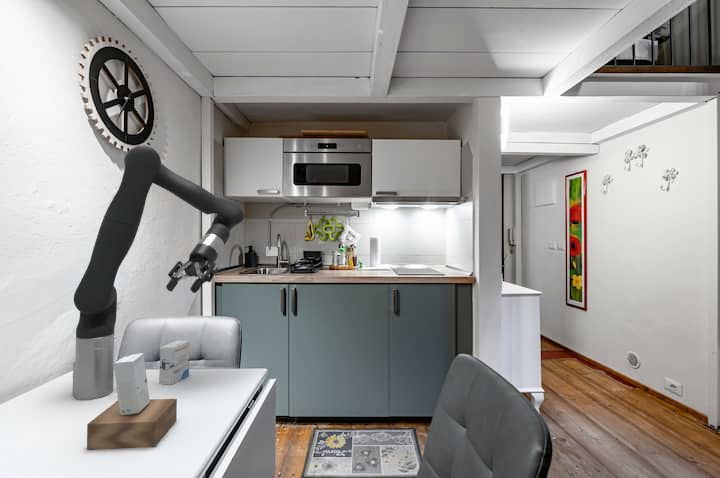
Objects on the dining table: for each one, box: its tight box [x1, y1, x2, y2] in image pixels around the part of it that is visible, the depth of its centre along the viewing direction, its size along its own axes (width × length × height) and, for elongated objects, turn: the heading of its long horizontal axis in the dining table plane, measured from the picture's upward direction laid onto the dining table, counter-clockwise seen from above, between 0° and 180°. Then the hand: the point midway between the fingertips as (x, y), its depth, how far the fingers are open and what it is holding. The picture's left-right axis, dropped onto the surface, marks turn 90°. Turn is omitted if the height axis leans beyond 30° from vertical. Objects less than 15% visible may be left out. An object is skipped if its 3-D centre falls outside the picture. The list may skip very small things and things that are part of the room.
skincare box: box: [114, 352, 150, 415], centre depth 86 cm, size 6×4×12 cm
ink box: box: [158, 340, 191, 386], centre depth 120 cm, size 9×5×12 cm, turn 168°
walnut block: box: [86, 398, 178, 451], centre depth 86 cm, size 14×12×6 cm
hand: (180, 290), depth 108 cm, fingers open, 8 cm apart
